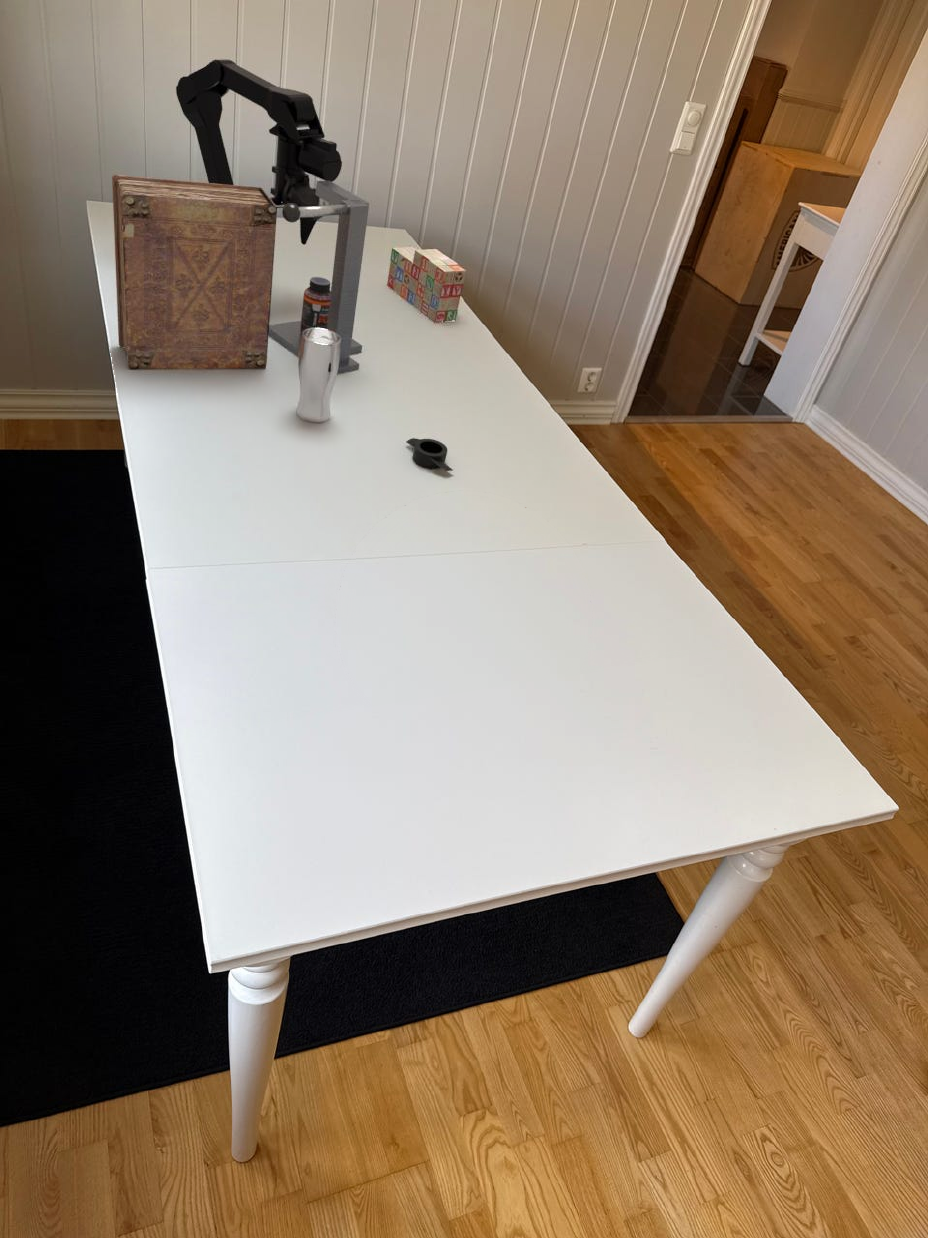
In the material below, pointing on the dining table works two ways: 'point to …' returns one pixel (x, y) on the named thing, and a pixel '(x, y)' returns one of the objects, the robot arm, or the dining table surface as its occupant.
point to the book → (193, 273)
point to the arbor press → (334, 269)
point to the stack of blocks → (427, 281)
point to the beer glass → (317, 373)
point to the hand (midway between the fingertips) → (285, 245)
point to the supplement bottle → (316, 304)
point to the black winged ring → (429, 453)
